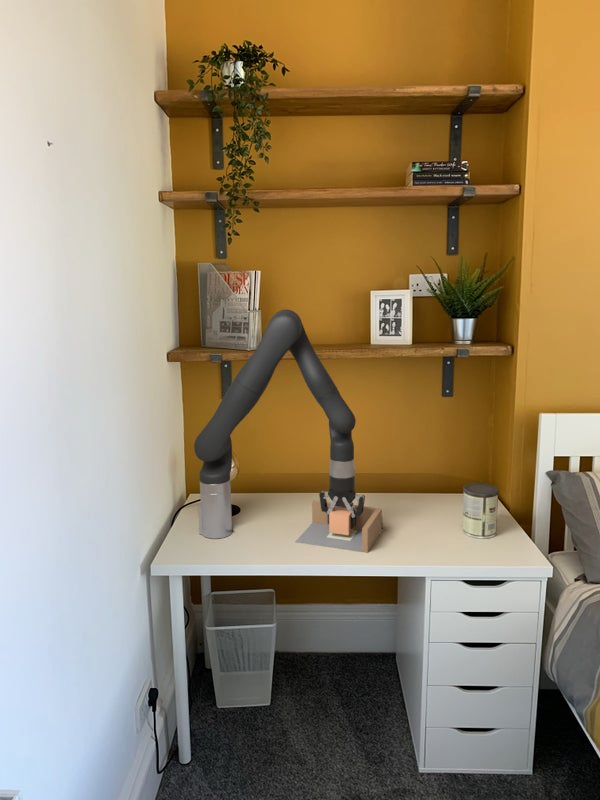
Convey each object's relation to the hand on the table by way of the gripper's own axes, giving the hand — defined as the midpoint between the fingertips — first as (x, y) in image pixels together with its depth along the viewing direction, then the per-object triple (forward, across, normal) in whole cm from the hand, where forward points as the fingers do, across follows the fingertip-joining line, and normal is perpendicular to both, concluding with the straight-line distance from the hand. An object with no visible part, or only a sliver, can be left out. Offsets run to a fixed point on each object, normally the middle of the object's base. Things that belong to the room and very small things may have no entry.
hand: (341, 526), depth 187 cm
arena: (+4, 0, -2) cm, 4 cm away
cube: (+1, 0, 0) cm, 1 cm away
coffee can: (+4, +38, +18) cm, 42 cm away
